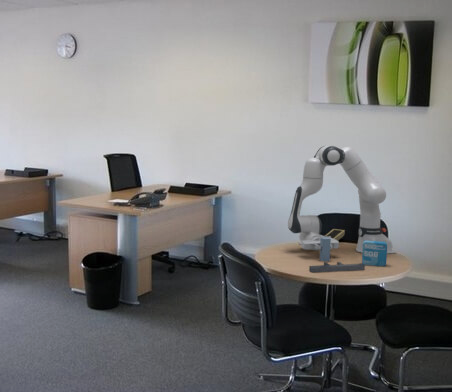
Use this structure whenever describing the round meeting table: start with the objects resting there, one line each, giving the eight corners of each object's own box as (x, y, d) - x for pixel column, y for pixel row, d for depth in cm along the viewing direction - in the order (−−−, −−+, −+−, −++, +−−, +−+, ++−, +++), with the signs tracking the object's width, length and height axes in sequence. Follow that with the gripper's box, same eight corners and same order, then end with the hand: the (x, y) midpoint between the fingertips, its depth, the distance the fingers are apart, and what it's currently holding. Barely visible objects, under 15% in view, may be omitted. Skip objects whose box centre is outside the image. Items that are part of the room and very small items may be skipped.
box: (345, 237, 335) (345, 229, 334) (332, 249, 317) (331, 242, 316) (332, 236, 339) (332, 228, 338) (319, 248, 321) (318, 240, 320)
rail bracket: (357, 265, 271) (357, 261, 271) (364, 270, 264) (364, 265, 263) (305, 268, 265) (305, 263, 265) (311, 272, 257) (311, 267, 257)
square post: (326, 259, 284) (327, 237, 282) (329, 261, 280) (330, 238, 278) (319, 259, 283) (320, 237, 281) (322, 261, 279) (323, 239, 277)
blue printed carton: (361, 264, 274) (363, 241, 273) (361, 262, 278) (363, 240, 277) (386, 266, 271) (387, 243, 270) (385, 264, 275) (387, 241, 274)
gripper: (297, 237, 290) (307, 242, 277) (332, 236, 295) (343, 241, 281) (297, 248, 291) (307, 254, 277) (332, 247, 296) (343, 253, 282)
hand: (325, 247), depth 279 cm, fingers closed on square post, 4 cm apart
